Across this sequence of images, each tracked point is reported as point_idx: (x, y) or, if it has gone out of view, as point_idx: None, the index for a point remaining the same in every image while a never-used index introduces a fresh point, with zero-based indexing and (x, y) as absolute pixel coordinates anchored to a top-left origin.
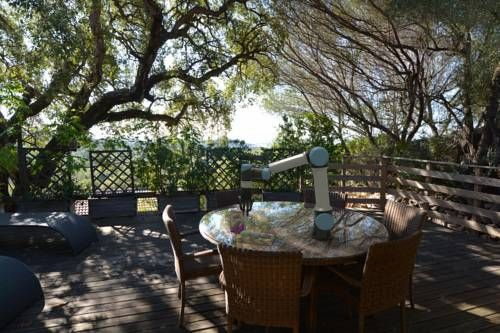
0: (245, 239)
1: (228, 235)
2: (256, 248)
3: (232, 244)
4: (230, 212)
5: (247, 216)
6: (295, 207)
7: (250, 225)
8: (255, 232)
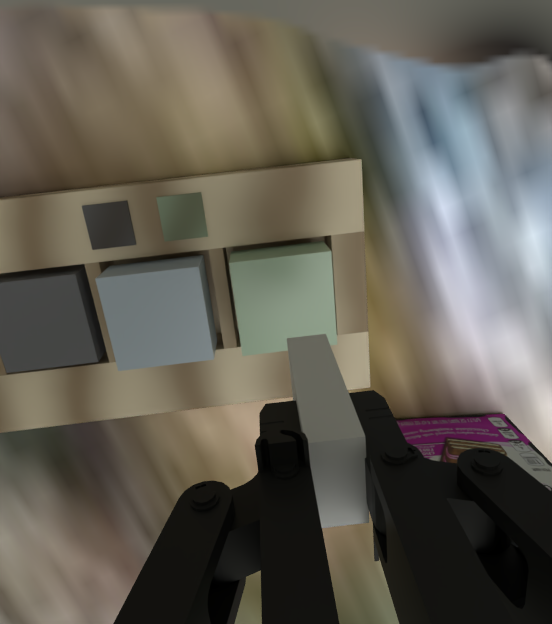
0: (237, 172)
1: (488, 309)
2: (43, 43)
3: (355, 57)
4: None
5: (273, 404)
6: None
7: (376, 613)
8: (166, 329)
